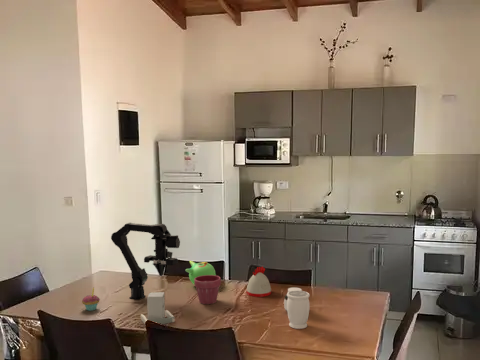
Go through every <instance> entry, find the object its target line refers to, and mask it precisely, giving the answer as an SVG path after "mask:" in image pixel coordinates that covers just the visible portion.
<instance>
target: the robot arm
mask: <svg viewBox="0 0 480 360" xmlns="http://www.w3.org/2000/svg"><path fill="white" fill-rule="evenodd" d="M130 232H139V233H149V234H150V235H152V237H150V238H151V239H150V240H154V245H155V246H154V249H153V252H154V253H155V255H151V254H150V255H147V256H145V257H144V259H143V263H147V264H149V263H150V262H152V265H153V266H154V267H155V269H156V271H157V272H158V274H159V276H160V277H162V276H163V274H164V272H165V269H166V266H175V265H176V264H177V265H178V263H179V260H178V258H177V257H173V252H172V251H169V250H168V249H179V248H180V245H181V239H180V238H179V235H172V234H171V233H170V231H169V230H168V227H167V225H166V224H164V223H157V224H156V223H155V224H145V223H144V224H143V223H135V222H134V223H133V222H128V223H125V224H124V225H123V226H122V227H121V228H119V229H118V230H117V231H115V232H113V233H112V234H111V236H110V239H111V241H112V243H113V244H114V245H115V246H116V247H117V248H118V249H119V250H120V252H121V253H122V256H123V258H124V260H125V262H126V264H127V265H128V267H129V270H130V273H131V280H132V281H131V282H130V283H129V285H128V287H129V289H130V297H129V299H131V300H136V301H137V300H138V301H139V300H141V299H143V298H145V297H146V295H145V288H144V287H145V286H144V285H145V283H146V282H147V281H148V279H149V277H148V274H149V273H147V270H146V268H144V267H143V268H142V267H140V266H139V264H138V261H137V260H136V258H135V256H134V254H133V252H132V250H131V248H130V246H129V243H128V234H129V233H130Z"/></svg>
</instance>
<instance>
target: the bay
mask: <svg viewBox="0 0 480 360" xmlns="http://www.w3.org/2000/svg"><path fill="white" fill-rule="evenodd" d="M140 320H141V322H142V323H143V324H144V325H145V322H146V321H147V320H148V317H146V316H145V315H144V314H142V313H141V314H140ZM151 321H154V322H157V323H161V324H160V325H164V324H169V323H170V324H171V323H175V321H176V318H175V316H174V315H173V314H172V313H171V312H170V310H168V309H166V310H165V318H162V319H156V320H151Z"/></svg>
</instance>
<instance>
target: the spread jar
mask: <svg viewBox="0 0 480 360" xmlns="http://www.w3.org/2000/svg"><path fill="white" fill-rule="evenodd" d="M290 291H303V289H302V288H300V287H288V288H287V293H288V292H290ZM287 293H286V294H285V296H284V298H283V299H284V300H283V304H284V305H283V307H284V310H285V311H286V312H287V299H288V297H287Z"/></svg>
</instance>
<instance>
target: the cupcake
mask: <svg viewBox="0 0 480 360" xmlns="http://www.w3.org/2000/svg"><path fill="white" fill-rule="evenodd" d="M94 291H95V287H94V286H93V287H92V293H91V294H90V295H86V296H84V297H83V298H82V301H81V304H82V305H84V306H85V310H86V311H89V312H90V311H91V312H92V311H95V310H97V307H98V303H100V300H101V299H100V297H99V296H97V295H95V293H94Z"/></svg>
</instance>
